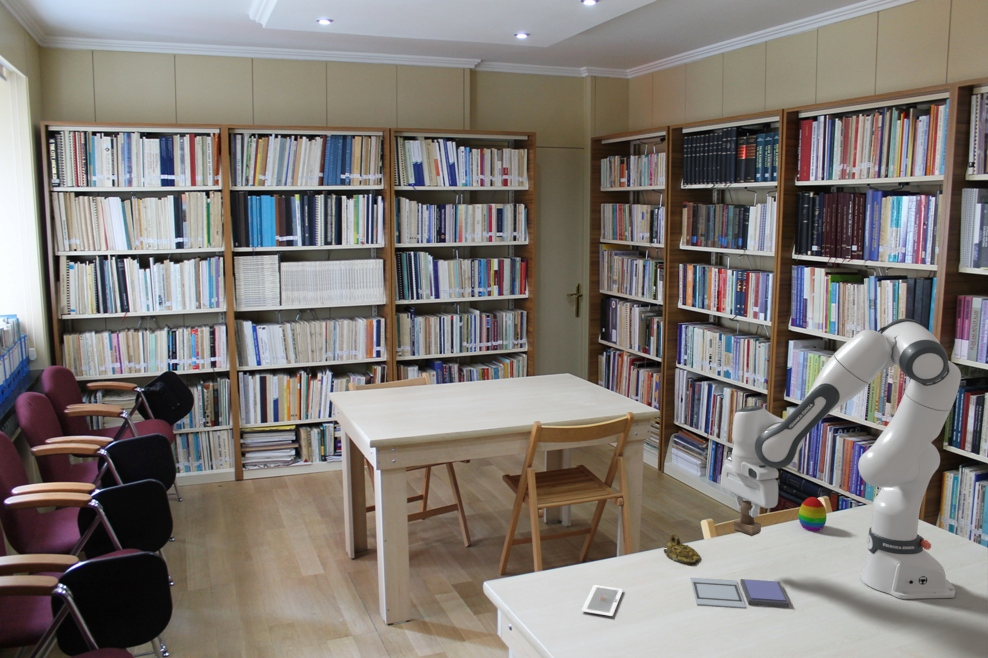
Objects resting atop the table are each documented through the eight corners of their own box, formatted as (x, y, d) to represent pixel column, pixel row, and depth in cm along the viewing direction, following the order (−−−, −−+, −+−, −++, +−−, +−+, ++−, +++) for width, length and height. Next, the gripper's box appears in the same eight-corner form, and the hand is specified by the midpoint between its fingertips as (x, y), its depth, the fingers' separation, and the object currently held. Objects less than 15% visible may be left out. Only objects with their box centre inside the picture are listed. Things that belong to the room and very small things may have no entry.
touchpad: (580, 615, 199) (581, 606, 199) (593, 588, 213) (593, 580, 213) (612, 620, 197) (612, 612, 196) (623, 593, 211) (623, 585, 210)
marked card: (735, 581, 217) (735, 579, 217) (745, 608, 202) (745, 606, 202) (690, 578, 218) (690, 577, 218) (696, 604, 204) (696, 603, 204)
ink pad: (779, 585, 214) (779, 580, 214) (789, 607, 203) (789, 601, 202) (740, 583, 216) (740, 578, 215) (748, 604, 204) (748, 599, 204)
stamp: (760, 533, 220) (761, 504, 219) (751, 536, 218) (752, 507, 217) (742, 527, 225) (743, 498, 224) (733, 530, 223) (734, 501, 222)
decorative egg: (823, 534, 249) (825, 503, 247) (795, 529, 253) (797, 499, 251) (827, 526, 256) (829, 496, 254) (800, 521, 260) (802, 491, 258)
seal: (707, 568, 228) (683, 546, 242) (710, 552, 227) (686, 531, 241) (677, 568, 225) (655, 546, 240) (680, 552, 225) (657, 531, 239)
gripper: (715, 456, 228) (714, 503, 230) (763, 476, 209) (761, 527, 211) (734, 453, 230) (733, 500, 232) (783, 473, 211) (781, 524, 213)
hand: (747, 513), depth 221 cm, fingers closed on stamp, 4 cm apart
